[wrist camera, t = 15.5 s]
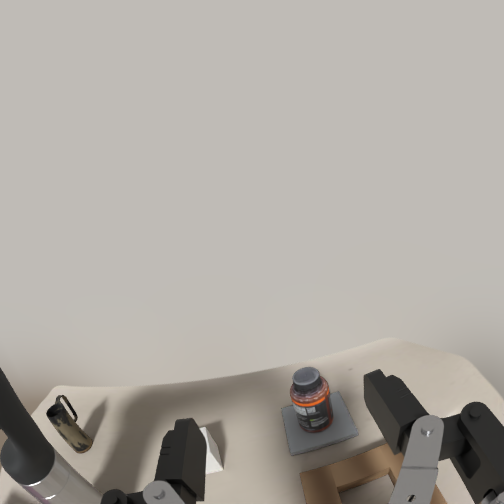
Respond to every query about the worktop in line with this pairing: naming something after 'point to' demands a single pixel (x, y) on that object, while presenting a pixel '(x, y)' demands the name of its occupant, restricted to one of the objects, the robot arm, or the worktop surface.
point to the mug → (68, 426)
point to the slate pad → (333, 434)
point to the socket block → (354, 476)
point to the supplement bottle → (311, 400)
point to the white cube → (211, 453)
